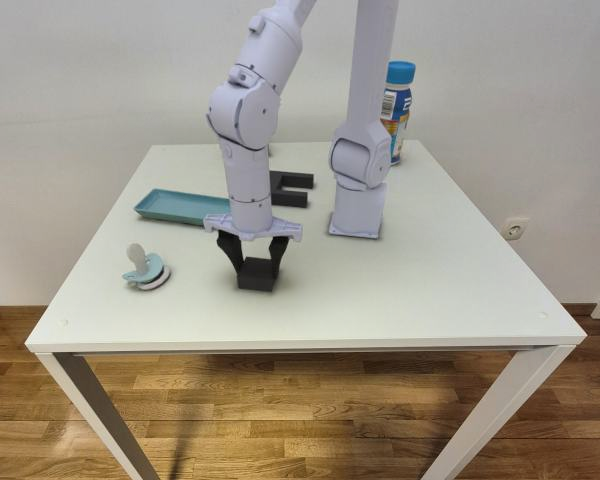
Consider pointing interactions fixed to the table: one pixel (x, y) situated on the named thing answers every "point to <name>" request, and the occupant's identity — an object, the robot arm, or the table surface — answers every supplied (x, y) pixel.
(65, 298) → the table surface
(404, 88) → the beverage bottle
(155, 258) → the pacifier
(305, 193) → the base pad
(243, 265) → the small black block
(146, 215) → the shallow long dish
